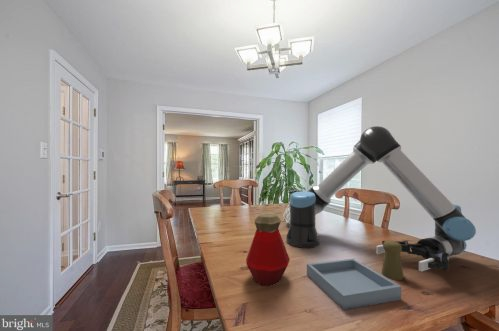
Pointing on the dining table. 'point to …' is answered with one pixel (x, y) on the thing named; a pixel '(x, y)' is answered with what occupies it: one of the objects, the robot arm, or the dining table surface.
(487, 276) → the dining table surface
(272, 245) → the bottle
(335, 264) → the tray
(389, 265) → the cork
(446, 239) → the robot arm
